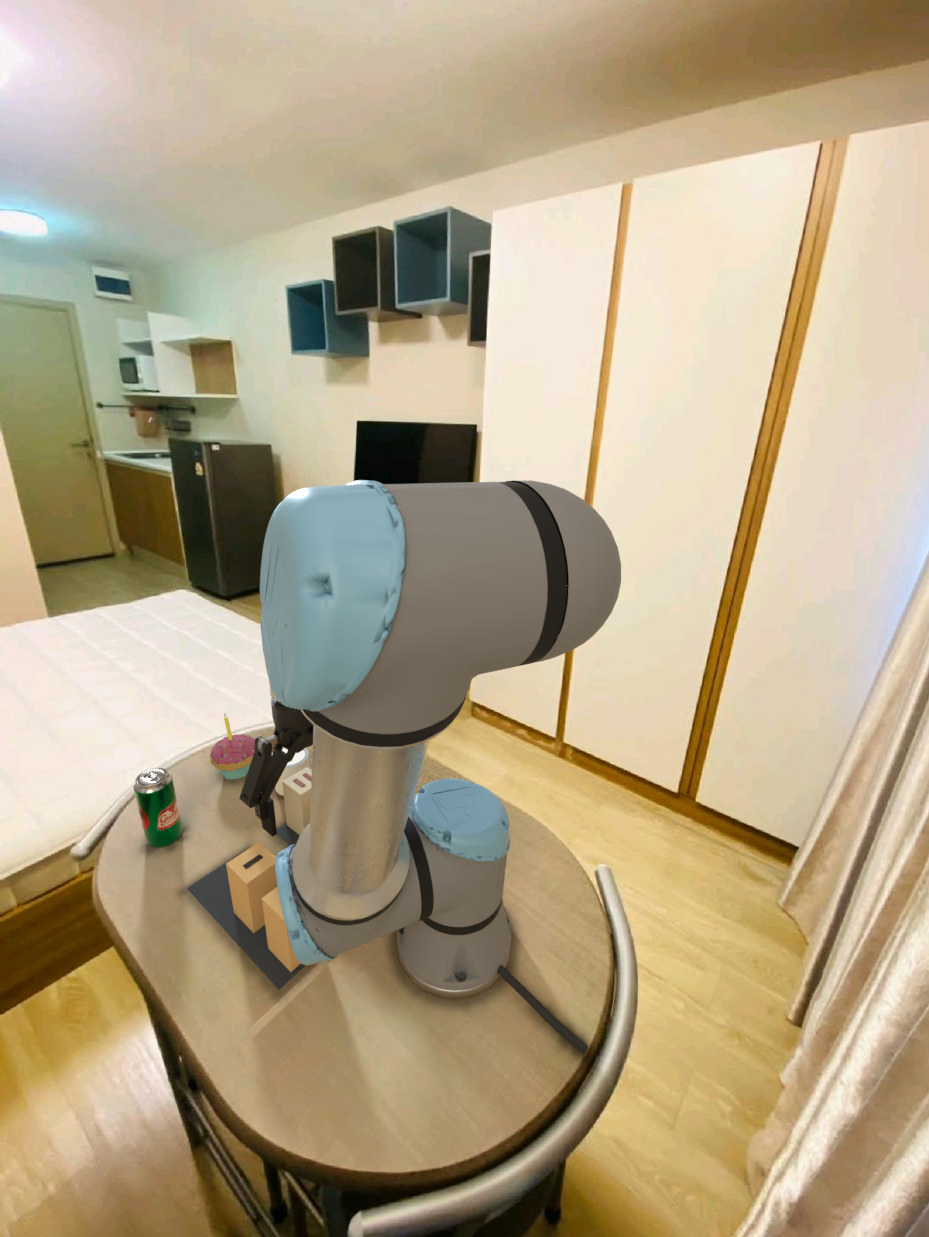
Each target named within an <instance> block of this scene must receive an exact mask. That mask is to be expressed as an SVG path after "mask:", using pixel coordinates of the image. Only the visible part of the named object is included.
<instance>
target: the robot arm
mask: <svg viewBox="0 0 929 1237" xmlns="http://www.w3.org/2000/svg"><path fill="white" fill-rule="evenodd" d="M260 561H261V562H260V572H259V573H260V574H259V600H260V604H261V613H260V631H261V632H260V634H261V643H262V652H263V657H264V665H265V669H266V674H267V677H268V684H269V693H270V694H269V695H270V706H271V715H272V716H271V718H272V721H273V724H274V730H273V734H272V735H268V736H266V737H263V736H261V735H258V736H256V738H254V739H255V752H254V755H253V758H252V761H251V764H250V767H249V770H248V773H247V775H246V776H245V779H244V782H243V785H242V789H241V792H240V794H239V800H240V801H241V802H242V803H243V804H245V805H246V806H247V807H248V808H249V809H252V808H254V813H255V816H256V817H257V818H258V819H259V820H260V822H261V828H262V829H263V831H265V832H266V833H268V834H269V835H270V836H271V837H275V836H277V829H278V828H277V821H276V813H275V804H274V802H275V801H274V799H272V797H271V795H272V794H273V792H274V790H275V786H276V784H277V782H278V780H279V778H280V777H281V775H282V773H283V771H284V769H285V767H286V765H287V763H288V762H291V761H292V759H293V757H294V756H295V754H296V753H299V752H301V751H302V750H303V749H304V748H306V749H307V748H309V747H312V756H311V758H312V759H311V770H312V781H311V808H310V823H309V824H308V825H307V826H306V828H305V829H304V830H303V832H302V833H301V835H300V837H299V839H298V841H297V843H296V844H293V845H288V847H286V848H284V849H283V848H282V849H281V850H280V851H278V853H277V854H276V855H275V856H276V858H275V873H276V880H277V886H278V892H279V897H280V902H281V907H282V912H283V916H284V920H285V924H286V927H287V930H288V934H289V939H290V943H291V947H292V950H293V952H294V955H295V957H296V959H297V960H298V961H299V962H300V963H301V964H303V965H306V966H312V965H315V964H318V963H322V962H326V961H327V962H328V961H333V960H335V959H336V958H338V956H340V955H342V954H345V953H347V952H350V951H352V950H354V949H356V948H359V947H361V946H364V945H366V944H369V943H371V942H373V941H375V940H377V939H380V938H382V937H385V936H388V935H390V934H393V933H395V932H396V934H395V938H396V939H395V945H396V946H395V947H396V953H397V957H398V961H399V963H400V966H401V967H402V969H403V971H404V972H405V974H406V975H407V977H408V978H409V979H410V980H411V982H412V983H414V984H415V985H416V986H417V987H418V988H420V989H422V990H423V991H425V992H427V993H429V994H431V995H434V996H436V997H439V998H446V999H464V998H469V997H473V996H476V995H479V994H480V993H483V992H484V991H486V990H488V988H490V987H492V986H493V985H494V984H495V983H496V982H497V981H498V980H499V978H500V977H501V978H502V979H503V980H504V981H505V982H506V983H507V984H508V985H509V986H510V987H511V988H512V989H513V990H514V991H516V993H518V995H519V996H520V997H521V998H522V999H523V1000H524V1001H525V1002H527V1003H528V1004H529V1005H530V1007H531V1008H532V1009H533V1010H534V1011H536V1013H537V1014H538V1015H540V1017H541V1018H542V1019H543V1020H544V1021H545V1022H546V1023H547V1024H548V1025H549V1026H550V1027H551V1028H552V1029H553V1030H554V1031H556V1033H558V1034H559V1035H560V1036H561V1037H562V1038H563V1039H564V1040H566V1042H568V1043H569V1044H570V1045H571V1046H573V1047H574V1048H575V1049H576V1050H577V1051H579V1052H580V1053H581V1054H582V1055H583V1056H585V1055H586V1053H587V1051H588V1048H589V1045H588V1044H587V1043H586V1042H584V1041H583V1040H582V1039H581V1038H580V1037H579V1036H578V1035H576V1034H575V1033H574V1032H573V1031H571V1030H570V1029H569V1028H568V1027H567V1026H566V1025H564V1024H563V1022H562V1021H560V1020H559V1019H558V1018H557V1017H556V1016H555V1015H554V1014H553V1013H552V1012H550V1010H549V1009H548V1008H546V1006H544V1005H543V1003H541V1001H539V999H537V997H536V996H534V995H533V994H532V993H531V992H530V991H529V990H528V988H526V987H525V985H523V984H522V983H521V982H520V981H519V980H518V979H517V978H516V977H515V976H514V975H513V974H512V973H511V972H510V971H509V970H507V966H508V962H509V960H510V957H511V951H512V941H513V938H512V937H513V935H512V926H511V925H512V924H511V921H510V917H509V914H508V912H507V910H506V908H505V905H504V899H503V894H504V886H505V879H506V878H505V877H506V868H507V858H508V852H509V850H510V846H511V837H510V818H509V814H508V811H507V808H506V807H505V805H504V803H503V802H502V800H501V799H500V798H499V797H498V796H497V795H496V794H495V793H494V792H492V791H491V790H490V789H488V788H486V787H485V786H483V785H481V784H478V783H474V782H473V781H470V780H467V779H461V778H449V777H448V778H440V779H436V780H432V781H430V782H428V783H425V784H424V785H423V786H421V787H420V788H419V790H418V792H417V793H416V790H417V788H418V784H419V781H420V776H421V773H422V770H423V766H424V762H425V759H426V756H427V752H428V749H429V745H430V741H432V740H434V739H435V738H436V737H438V736H439V735H441V734H442V733H443V732H445V730H447V729H448V728H450V727H451V725H452V724H453V723H454V722H455V720H457V718H458V717H459V715H460V713H461V711H462V709H463V707H464V704H465V702H466V699H467V695H468V693H469V689H470V687H471V684H472V681H473V679H475V677H477V676H480V675H483V674H488V673H493V672H497V671H502V670H506V669H511V668H512V669H513V668H516V667H522V666H526V665H530V664H535V663H540V662H545V661H548V660H551V659H554V658H557V657H559V656H562V655H564V654H567V653H570V652H572V651H573V650H575V649H577V648H579V647H580V646H582V645H584V644H585V643H587V641H589V640H591V638H593V637H594V636H595V635H596V634H597V633H598V631H600V629H602V627H603V626H604V625H605V623H606V621H607V620H608V619H609V618H610V616H611V615H612V613H613V610H614V608H615V606H616V603H617V601H618V598H619V594H620V589H621V584H622V562H621V558H620V552H619V547H618V544H617V542H616V539H615V537H614V535H613V532H612V530H611V529H610V527H609V525H608V524H607V522H606V520H605V519H604V518H603V516H601V515H600V513H599V512H598V511H597V510H596V509H595V508H594V507H593V506H592V505H591V504H589V503H588V502H587V501H586V500H585V499H584V498H581V497H580V496H578V495H577V494H575V493H573V492H571V491H570V490H567V489H566V488H564V487H560V486H557V485H554V484H551V483H547V482H541V481H537V480H505V481H475V482H474V481H472V482H471V481H470V482H432V483H431V482H427V483H426V482H424V483H423V482H422V483H381V482H379V481H377V480H371V479H370V480H368V479H358V480H354V481H351V482H348V483H346V484H339V485H321V486H310V487H308V486H307V487H303V488H300V489H297V490H295V491H293V492H291V493H290V494H288V495H287V496H285V497H284V499H282V501H280V502H279V504H278V505H277V506H276V508H275V509H274V510H273V513H272V514H271V516H270V519H269V521H268V524H267V527H266V532H265V535H264V541H263V546H262V553H261V560H260ZM283 747H284V748H286V749H287V750H288V751H287V753H285V752H284V751H282V748H283ZM272 753H273V754H272Z"/></svg>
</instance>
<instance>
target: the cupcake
mask: <svg viewBox="0 0 929 1237" xmlns="http://www.w3.org/2000/svg"><path fill="white" fill-rule="evenodd" d="M223 715H224V717H223V721H224V726H225V729H226V733H227V736H225V737H223V738H222V739H220V740H218V741H217V742H216V743H214V745H213V746H212V747H211V750H210V758H209V760H210V762H209V763H210V764H211V765H212V766H213V767H215V768H216V769H217V770H219V771H220V773H221V774H222V777H223V778H224V779H226V780H237V779H241V778H242V779H243V778H244V777H246V776H247V773H248V770H249V767H250V764H251V761H252V758H253V755H254V752H255V739H256V738H254V737H252V736H250V735H246V734H232V729H231V725H230V720H229V717H228V716H227V715H226V713H225V712H224V713H223Z"/></svg>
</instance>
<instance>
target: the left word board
mask: <svg viewBox="0 0 929 1237" xmlns="http://www.w3.org/2000/svg"><path fill="white" fill-rule="evenodd" d="M276 856H277V855H275V854H274V853H272V852H271V851H270V850H269V849H268V848H267V847H266V846H264V845H263V844H262V843H261V841H258V842H257V843H255V844H253V845H252V846H250V847H249V848H247V849H246V850H245V849H244V850H243V851H241V852H240V853H238V854H236V855H235V856H233V857H232V858H230V859H229V860H227V861H226V862H224V863H223V864H221V865H220V866H218V867H217V868H215V869H214V870H212V871H211V872H209V873H208V874H206V875H205V876H203V877H201V878H200V879H199V880H197V881H195V882H194V883H192V884H191V885H189V886H188V887H186V888H187V891H189V892H190V894H192V896H193V897H194V898H195V899H196V900H197V901H198V902H199V904H200V905H201V906H202V907H203V908H204V909H205V910H206V911H207V912H208V913H209V915H210V916H211V917H212V918H213V919H214V920H215V921H216V922H217V924H219V926H221V928H222V929H223V930H224V932H226V933H227V935H228V936H229V937H230V938H231V939H232V940H233V942H235V943H236V945H238V946H239V948H240V949H241V950H242V951H243V952H244V953H245V955H246V956H247V957H248V958H249V959H250V960H251V961H252V962H253V963H254V965H256V966H257V968H258V969H259V970H260V971H261V972H262V973H263V974H264V975H265V976H266V978H267V979H268V980H269V981H270V982H271V983H272V984H273V986H274V987H276V989H277V990H278V991H280V990H281V989H282V988H283V987H284V986H285V985H287V984H288V982H290V981H291V980H292V979H293V978H294V977H295V976H296V975H297V974H298V973H300V972H301V970H302V969H304V968H305V967H306V966H307V965H303V964H301V963H300V962H299V961H298V960H297V959H296V957H295V955H294V952H293V950H292V947H291V943H290V939H289V934H288V930H287V927H286V924H285V920H284V916H283V912H282V907H281V902H280V897H279V892H278V886H277V880H276V873H275V858H276Z"/></svg>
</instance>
